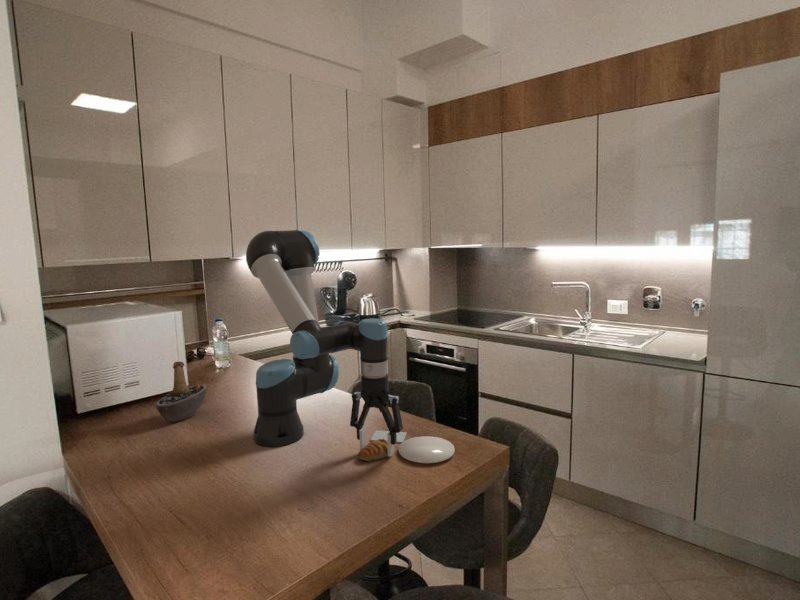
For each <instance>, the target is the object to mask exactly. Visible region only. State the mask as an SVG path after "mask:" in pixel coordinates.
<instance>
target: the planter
mask: <svg viewBox="0 0 800 600" xmlns="http://www.w3.org/2000/svg"><path fill="white" fill-rule="evenodd" d="M172 365H173V366H172V368H173V386H172V387H173V389H172V391H170V393H168V394H166V395H165V396H163V397H161V398H160V399H158V401H156V403H155V407H156V409H157V411H158V413H159V415H160V416H161V417H162V418H164V419H165V420H166V421H170V422H172V423H178V422H181V421H186V420H187V419H189V418H191V417H193V416H194V415H195V414H196V413H197V411H198V410H199V409H200V408H201V406H203V402H204V399H205V397H206V392H207V386H206V384H204V383H203V384H196V385H192V386H188V385H187V381H186V377H185V375H186V374H185V370H184V367H185V363H184V362H183V361H174V363H173V364H172Z"/></svg>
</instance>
